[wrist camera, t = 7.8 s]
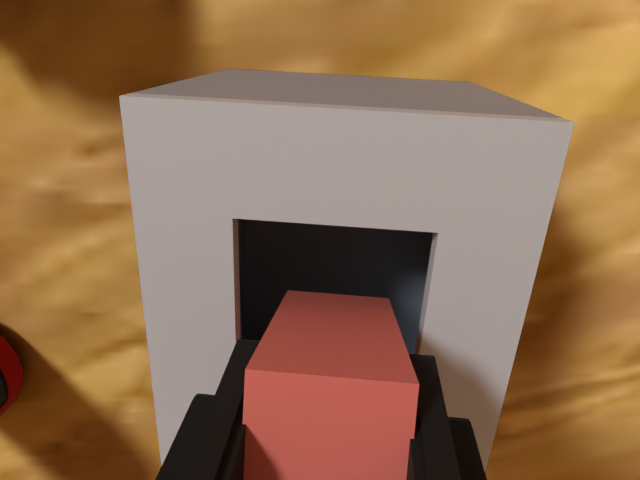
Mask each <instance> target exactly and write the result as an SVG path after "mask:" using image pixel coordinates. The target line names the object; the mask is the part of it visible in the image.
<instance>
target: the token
mask: <svg viewBox="0 0 640 480" xmlns="http://www.w3.org/2000/svg"><path fill="white" fill-rule="evenodd" d="M418 392H419V382H418V379H417V376H416V374H415V371H414V368H413V365H412V362H411V360H410V357H409V354H408V351H407V348H406V346H405V343H404V340H403V337H402V334H401V331H400V329H399V326H398V323H397V320H396V317H395V315H394V312H393V309H392V306H391V303H390V301H389V298H381V297H368V296H355V295H343V294H330V293H317V292H305V291H292V290H288V291H287V292H286V294H285V296H284V298H283V300H282V302H281V304H280V305H279V307H278V309H277V311H276V313H275V315H274V317H273V318H272V320H271V322H270V324H269V326H268V328H267V330H266V331H265V333H264V335H263V337H262V339H261V341H260V342H259V344H258V346H257V348H256V350H255V352H254V354H253V355H252V357H251V359H250V361H249V363H248V365H247V367H246V368H245V382H244V402H243V423H242V424H246V434H245V455H244V477H243V480H406V478H407V467H408V456H409V446H410V439H414V433H415V423H416V413H417V403H418Z"/></svg>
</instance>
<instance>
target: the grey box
mask: <svg viewBox="0 0 640 480" xmlns="http://www.w3.org/2000/svg"><path fill="white" fill-rule="evenodd" d="M119 100H120V109H121V117H122V126H123V135H124V143H125V152H126V161H127V170H128V178H129V187H130V196H131V204H132V213H133V222H134V231H135V239H136V248H137V257H138V266H139V274H140V283H141V292H142V300H143V309H144V318H145V327H146V335H147V344H148V353H149V361H150V370H151V379H152V388H153V396H154V405H155V414H156V423H157V431H158V440H159V449H160V457H161V466H162V464H163V462H164V460H165V458H166V456H167V454H168V451H169V449H170V447H171V445H172V443H173V441H174V439H175V436H176V434H177V432H178V430H179V428H180V426H181V423H182V421H183V419H184V417H185V415H186V413H187V410H188V408H189V406H190V404H191V402H192V400H193V398H194V396H195V395H196V394H198V393H199V394H210V395H215V393H216V391H217V388H218V386H219V383H220V381H221V379H222V376H223V374H224V371H225V369H226V366H227V364H228V361H229V359H230V356H231V354H232V352H233V349H234V347H235V344H236V342H237V340H238V339H245V340H256V341H261V339H262V337H263V335H264V333H265V331H266V330H267V328H268V326H269V324H270V322H271V320H272V318H273V317H274V315H275V313H276V311H277V309H278V307H279V305H280V304H281V302H282V300H283V298H284V296H285V294H286V292H287V291H288V290H292V291H305V292H317V293H330V294H343V295H355V296H368V297H381V298H389V301H390V303H391V306H392V309H393V312H394V315H395V317H396V320H397V323H398V326H399V329H400V331H401V334H402V337H403V340H404V343H405V346H406V348H407V351H408V354H420V355H432V356H434V357H435V359H436V364H437V369H438V373H439V378H440V382H441V387H442V392H443V396H444V401H445V406H446V410H447V415H448V417H457V418H467V419H469V420H470V422H471V425H472V427H473V431H474V435H475V438H476V442H477V446H478V449H479V453H480V457H481V460H482V464H483V468H484V471H485V472H486V468H487V464H488V460H489V456H490V452H491V449H492V445H493V441H494V437H495V433H496V429H497V425H498V421H499V417H500V413H501V409H502V405H503V402H504V398H505V394H506V390H507V386H508V382H509V378H510V374H511V370H512V366H513V362H514V358H515V354H516V351H517V347H518V343H519V339H520V335H521V331H522V327H523V323H524V319H525V315H526V311H527V307H528V304H529V300H530V296H531V292H532V288H533V284H534V280H535V276H536V272H537V268H538V264H539V260H540V256H541V253H542V249H543V245H544V241H545V237H546V233H547V229H548V225H549V221H550V217H551V213H552V209H553V205H554V202H555V198H556V194H557V190H558V186H559V182H560V178H561V174H562V170H563V166H564V162H565V158H566V155H567V151H568V147H569V143H570V139H571V135H572V131H573V127H574V122H572V121H569V120H566V119H564V118H561V117H559V116H556V115H554V114H551V113H548V112H546V111H543V110H541V109H538V108H536V107H533V106H531V105H528V104H525V103H523V102H520V101H518V100H515V99H513V98H510V97H507V96H505V95H502V94H500V93H497V92H495V91H492V90H489V89H487V88H484V87H482V86H479V85H477V84H474V83H471V82H456V81H438V80H420V79H402V78H384V77H366V76H348V75H330V74H312V73H294V72H276V71H258V70H240V69H226V70H222V71H218V72H214V73H210V74H206V75H202V76H198V77H194V78H190V79H185V80H181V81H177V82H173V83H169V84H165V85H161V86H157V87H153V88H149V89H145V90H141V91H137V92H133V93H129V94H125V95H121V96H119Z"/></svg>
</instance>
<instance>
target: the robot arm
mask: <svg viewBox="0 0 640 480" xmlns="http://www.w3.org/2000/svg"><path fill="white" fill-rule="evenodd" d="M259 342H260V341H256V340H245V339H238V340H237V342H236V344H235V347H234V349H233V352H232V354H231V356H230V359H229V361H228V364H227V366H226V369H225V371H224V374H223V376H222V379H221V381H220V383H219V386H218V388H217V391H216V393H215V395H210V394H199V393H198V394H196V395H195V396H194V398H193V400H192V402H191V404H190V406H189V408H188V410H187V413H186V415H185V417H184V419H183V421H182V423H181V426H180V428H179V430H178V432H177V434H176V436H175V439H174V441H173V443H172V445H171V447H170V449H169V451H168V454H167V456H166V458H165V460H164V462H163V464H162V467H161V469H160V471H159V473H158V475H157V477H156V480H243V477H244V455H245V434H246V424H242V423H243V402H244V382H245V368H246V367H247V365H248V363H249V361H250V359H251V357H252V355H253V354H254V352H255V350H256V348H257V346H258V344H259ZM409 357H410V360H411V362H412V365H413V368H414V371H415V374H416V376H417V379H418V382H419V392H418V403H417V413H416V423H415V433H414V439H410V446H409V456H408V467H407V478H406V480H487V479H486V475H485V471H484V468H483V464H482V460H481V457H480V453H479V449H478V446H477V442H476V438H475V435H474V431H473V427H472V425H471V422H470V420H469V419H467V418H457V417H448V415H447V410H446V406H445V401H444V396H443V392H442V387H441V382H440V378H439V373H438V369H437V364H436V359H435V357H434V356H432V355H420V354H409Z"/></svg>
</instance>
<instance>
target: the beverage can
mask: <svg viewBox="0 0 640 480" xmlns="http://www.w3.org/2000/svg"><path fill="white" fill-rule="evenodd" d="M22 385H23V371H22V366H21V363H20V360H19V358H18V356H17V354H16V353H15V351H14V349H13V348H12V347H11V345H10V344H9V343H8V342H7V341H6V340H5V339H4V338H3V337H2V336H1V335H0V416H1V415H2V414H3V412H4V411H5V410H6V409H7V408H8V407H9V406H10V405H11V404H12V403H13V402H14V400H15V399H16V398H17V397H18V395H19V393H20V391H21V389H22Z"/></svg>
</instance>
